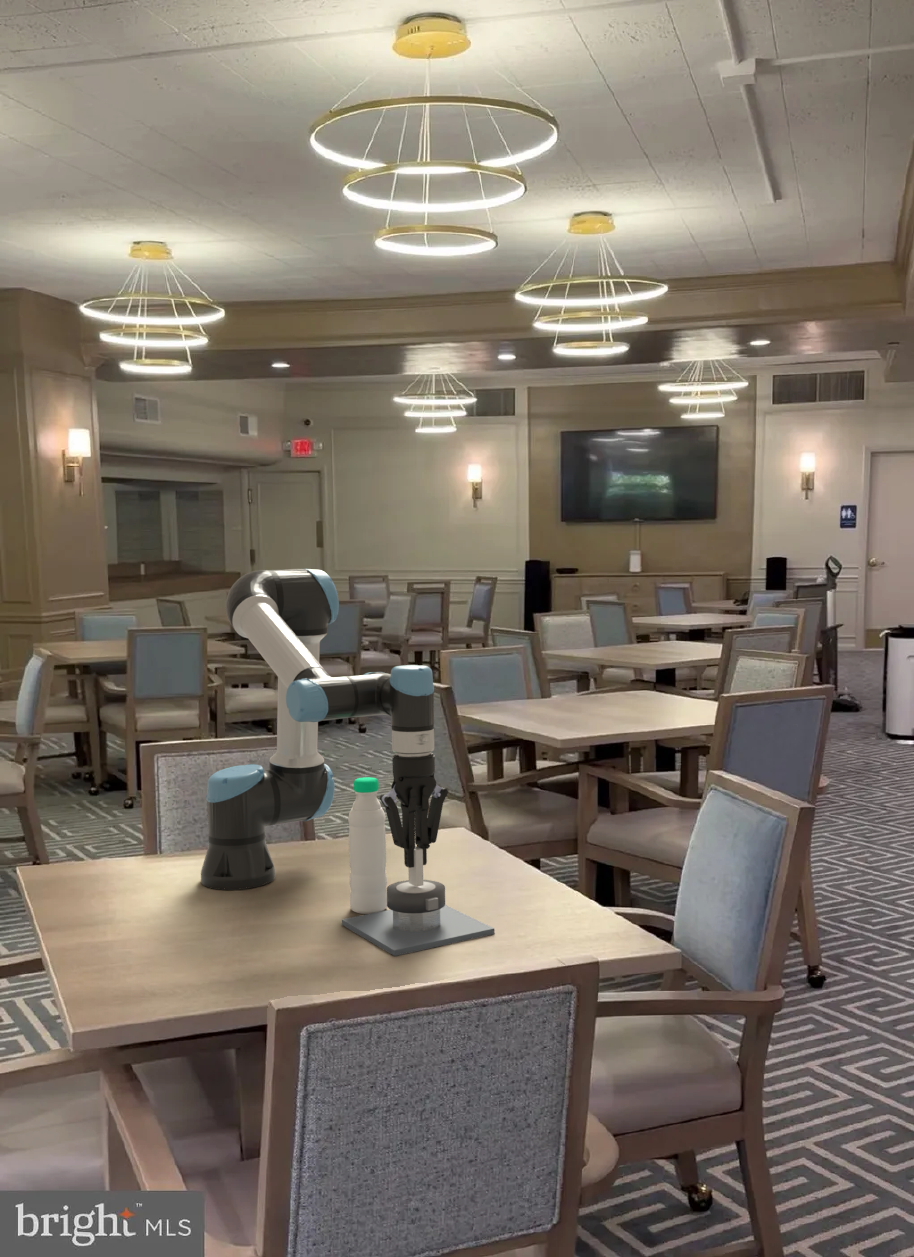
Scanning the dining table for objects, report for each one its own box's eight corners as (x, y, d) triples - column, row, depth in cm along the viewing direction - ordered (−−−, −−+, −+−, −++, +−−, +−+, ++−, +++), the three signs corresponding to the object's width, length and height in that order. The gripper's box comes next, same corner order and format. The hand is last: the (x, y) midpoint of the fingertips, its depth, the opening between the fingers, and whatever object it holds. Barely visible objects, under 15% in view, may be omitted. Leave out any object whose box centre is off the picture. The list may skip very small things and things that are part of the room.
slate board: (341, 924, 206) (341, 919, 206) (436, 905, 217) (436, 900, 217) (394, 956, 189) (394, 950, 189) (494, 933, 200) (494, 928, 200)
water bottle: (381, 915, 211) (379, 782, 210) (345, 914, 213) (342, 781, 211) (391, 904, 218) (388, 775, 217) (356, 903, 220) (353, 774, 218)
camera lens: (374, 914, 205) (374, 883, 205) (424, 904, 211) (423, 874, 211) (407, 932, 195) (407, 900, 195) (459, 921, 201) (458, 890, 200)
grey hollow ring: (384, 921, 204) (384, 902, 204) (425, 913, 209) (425, 894, 209) (407, 934, 197) (407, 914, 197) (449, 925, 202) (448, 906, 201)
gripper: (391, 759, 195) (394, 895, 196) (455, 752, 201) (458, 883, 203) (370, 753, 201) (373, 885, 202) (434, 746, 208) (436, 873, 209)
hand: (416, 884), depth 203 cm, fingers closed
